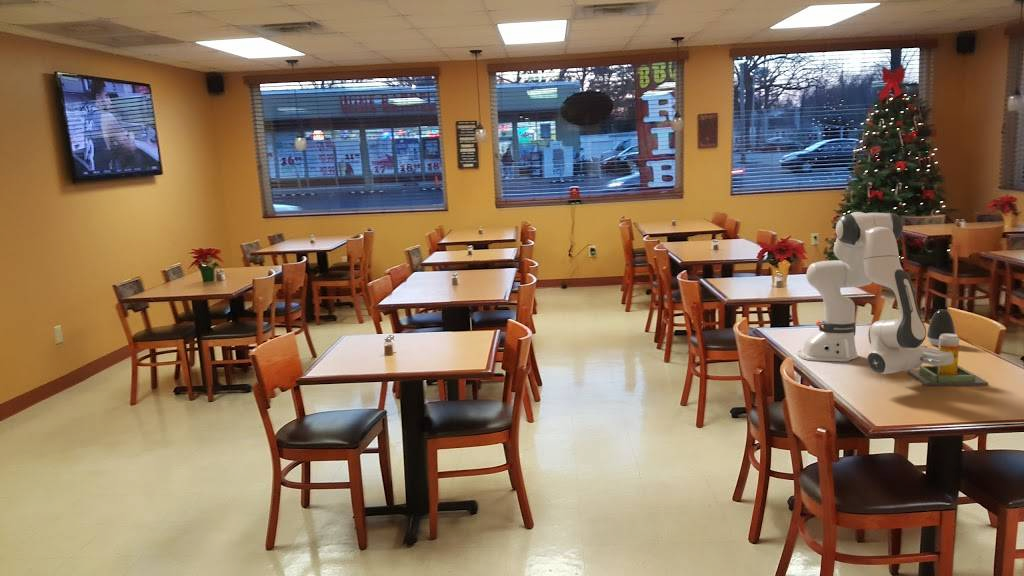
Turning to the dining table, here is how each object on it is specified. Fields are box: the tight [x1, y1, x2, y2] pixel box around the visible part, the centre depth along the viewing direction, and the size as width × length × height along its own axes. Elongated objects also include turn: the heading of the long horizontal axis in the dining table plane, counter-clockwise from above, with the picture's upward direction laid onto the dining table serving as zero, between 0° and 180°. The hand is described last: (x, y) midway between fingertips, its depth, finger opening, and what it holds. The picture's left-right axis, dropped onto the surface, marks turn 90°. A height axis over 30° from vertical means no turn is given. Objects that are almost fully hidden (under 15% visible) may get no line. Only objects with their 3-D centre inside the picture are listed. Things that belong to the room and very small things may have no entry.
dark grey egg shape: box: [926, 308, 956, 347], centre depth 304 cm, size 10×10×15 cm
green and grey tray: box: [907, 365, 989, 387], centre depth 261 cm, size 20×16×3 cm
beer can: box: [937, 333, 960, 375], centre depth 259 cm, size 6×6×15 cm
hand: (937, 350), depth 257 cm, fingers open, 8 cm apart
